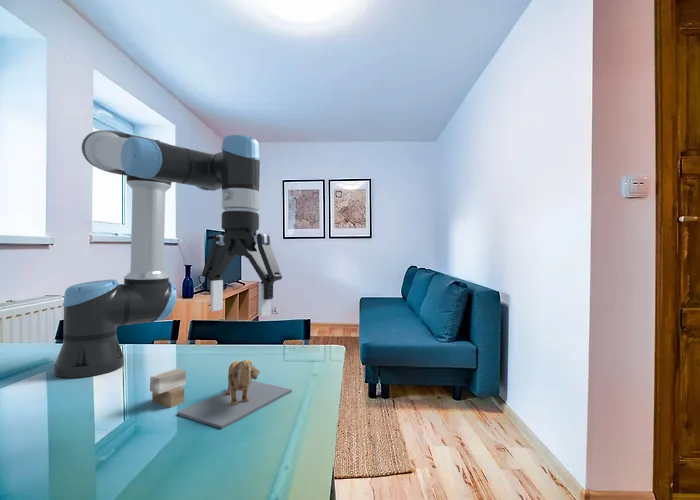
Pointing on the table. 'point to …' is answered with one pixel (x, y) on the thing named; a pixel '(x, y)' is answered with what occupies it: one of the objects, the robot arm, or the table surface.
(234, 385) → the lion figurine
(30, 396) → the table surface
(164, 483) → the table surface
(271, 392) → the gray mat
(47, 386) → the table surface
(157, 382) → the brick stack
